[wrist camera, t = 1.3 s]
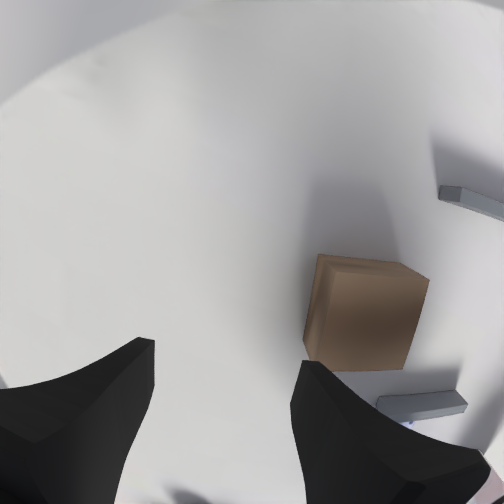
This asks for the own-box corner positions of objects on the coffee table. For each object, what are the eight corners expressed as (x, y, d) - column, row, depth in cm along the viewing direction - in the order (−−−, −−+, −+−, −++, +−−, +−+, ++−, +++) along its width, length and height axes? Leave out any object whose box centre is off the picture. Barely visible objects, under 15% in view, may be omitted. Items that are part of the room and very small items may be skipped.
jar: (490, 439, 25) (531, 492, 14) (476, 469, 27) (508, 518, 15) (437, 470, 26) (473, 533, 14) (428, 496, 27) (455, 551, 16)
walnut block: (379, 340, 21) (402, 369, 17) (302, 338, 20) (314, 371, 16) (399, 262, 19) (429, 279, 16) (317, 253, 19) (335, 271, 15)
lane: (451, 398, 22) (463, 412, 20) (375, 405, 22) (386, 424, 19) (512, 212, 19) (532, 216, 16) (440, 185, 18) (461, 187, 16)
